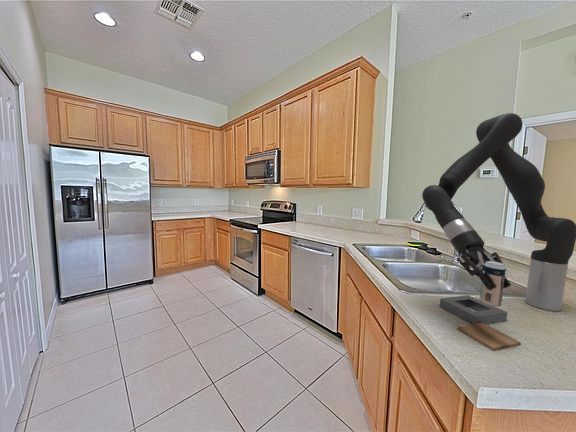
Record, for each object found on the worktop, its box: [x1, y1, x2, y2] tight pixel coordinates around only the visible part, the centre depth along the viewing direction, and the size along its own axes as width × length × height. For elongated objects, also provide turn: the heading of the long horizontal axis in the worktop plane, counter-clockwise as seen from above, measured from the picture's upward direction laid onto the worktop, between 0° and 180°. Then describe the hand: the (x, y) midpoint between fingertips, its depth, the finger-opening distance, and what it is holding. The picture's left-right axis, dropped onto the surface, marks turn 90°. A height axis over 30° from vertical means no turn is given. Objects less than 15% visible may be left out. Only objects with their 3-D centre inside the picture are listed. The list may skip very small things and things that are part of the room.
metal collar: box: [439, 294, 508, 325], centre depth 81 cm, size 13×13×3 cm
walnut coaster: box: [456, 323, 522, 351], centre depth 68 cm, size 10×10×1 cm
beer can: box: [478, 261, 507, 308], centre depth 66 cm, size 5×5×12 cm
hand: (500, 287), depth 64 cm, fingers closed on beer can, 4 cm apart
